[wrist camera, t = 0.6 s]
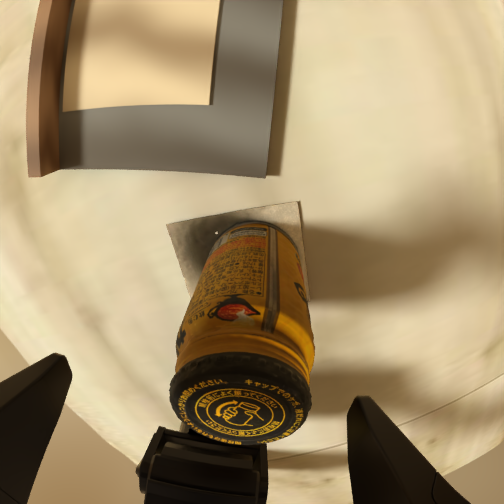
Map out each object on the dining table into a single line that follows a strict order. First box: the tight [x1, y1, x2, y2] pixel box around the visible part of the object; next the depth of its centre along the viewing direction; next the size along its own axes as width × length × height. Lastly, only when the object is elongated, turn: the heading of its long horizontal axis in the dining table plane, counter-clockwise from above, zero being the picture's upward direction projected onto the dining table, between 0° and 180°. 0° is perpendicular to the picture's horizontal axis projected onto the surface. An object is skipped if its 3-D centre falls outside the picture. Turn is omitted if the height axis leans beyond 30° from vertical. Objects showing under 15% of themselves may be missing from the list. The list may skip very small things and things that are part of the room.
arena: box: [26, 0, 283, 178], centre depth 14 cm, size 15×15×3 cm
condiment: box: [166, 202, 315, 445], centre depth 15 cm, size 7×8×12 cm
